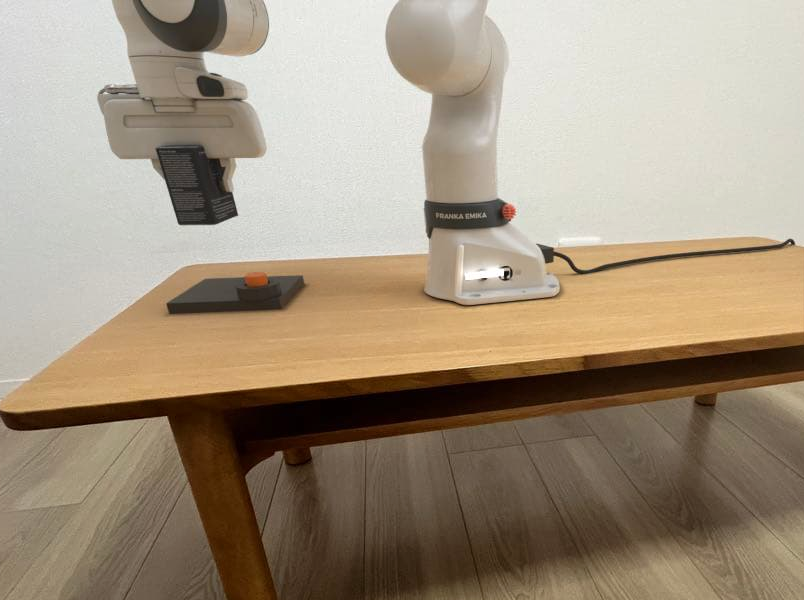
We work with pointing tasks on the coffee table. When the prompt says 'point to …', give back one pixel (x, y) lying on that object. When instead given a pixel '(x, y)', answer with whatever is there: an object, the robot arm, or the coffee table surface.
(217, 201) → the box
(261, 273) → the button
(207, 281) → the scale
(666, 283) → the coffee table surface
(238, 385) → the coffee table surface
